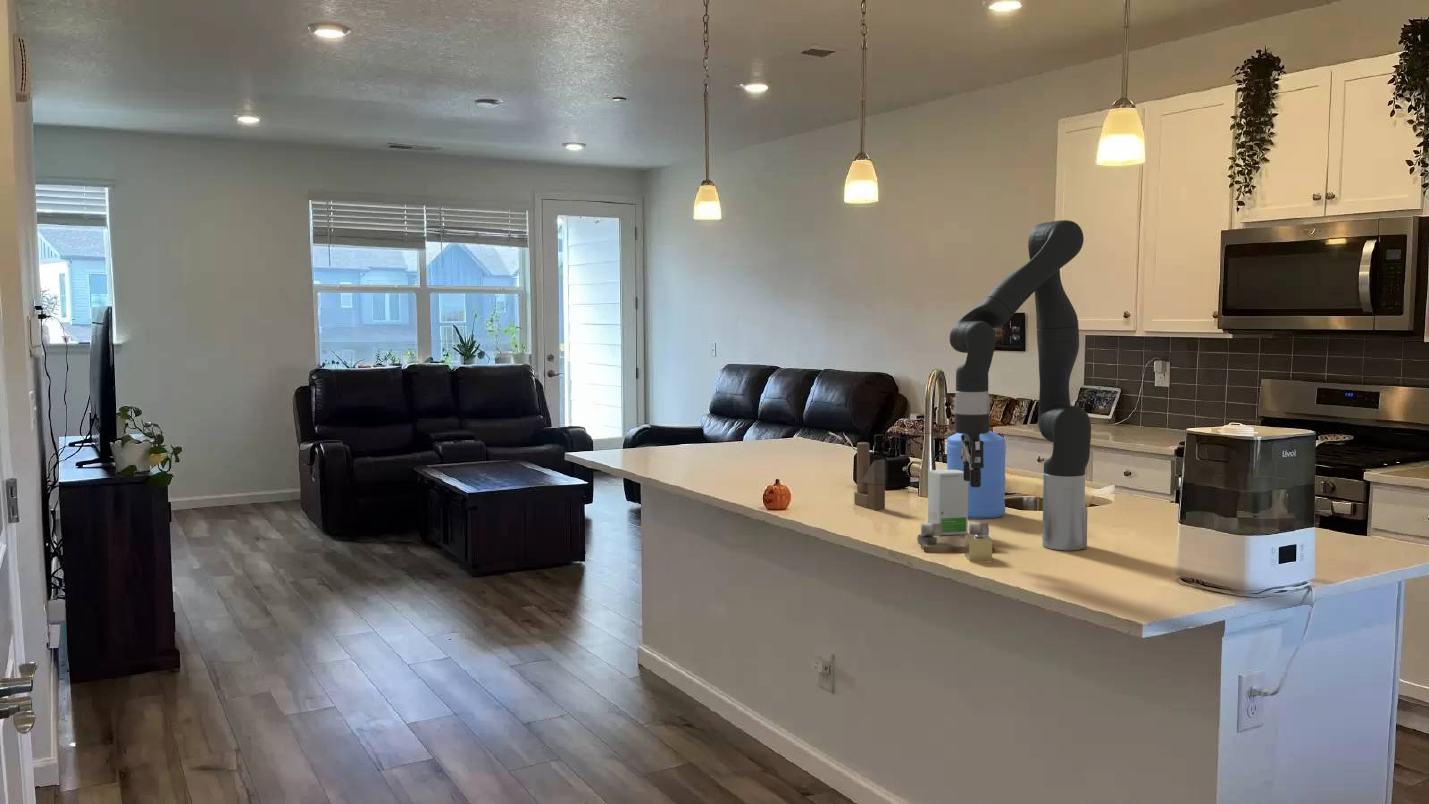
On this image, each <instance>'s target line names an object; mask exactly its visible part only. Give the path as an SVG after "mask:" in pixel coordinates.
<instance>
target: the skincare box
mask: <svg viewBox="0 0 1429 804" xmlns="http://www.w3.org/2000/svg"><path fill="white" fill-rule="evenodd" d="M927 491H928V492H927V493H928V494H927V495H928V497H927V502H928V503H927V523H941V524H942V536H949V535H951V536H952V535H954V536H955V535H957V536H958V535H968V533H969V532H968V531H969V530H968V529H969V524H968V521H969V520H968V519H969V518H968V481H965V480H964V479H963V471H959V470H947V469H931V470H928V490H927Z"/></svg>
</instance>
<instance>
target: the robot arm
mask: <svg viewBox="0 0 1429 804" xmlns="http://www.w3.org/2000/svg"><path fill="white" fill-rule="evenodd" d="M1084 242H1085V241H1084V232H1083V230H1082V227H1080V225H1079V224H1078V223H1076V222H1075V221H1073V220H1068V219H1065V220H1064V219H1063V220H1054V221H1049V222H1042V223H1038V224H1036V225H1035V226H1034V227H1033V228H1032V229H1031V231H1030V233H1029V237H1028V243H1027V248H1028V257H1029V261H1027V262H1026V263H1025V264H1023V265H1022V266H1021V267H1019V268H1018V269H1016V270H1014V272H1012V273H1010V274H1009V275H1007V276H1006V277H1004V278H1003V280H1001V281H1000V282H999V283H998V284H997V285H995V287H994V288H993V289H992V290H991V291H990V293H989V294H987V296H986V297H985V298H984V300H983V301H981V303H979V305H977V306H976V307H974V308H972V309H971V310H970V311H968V312H967V313H966V314H965V315H963V316H962V317H961V318H959V320H957V322H955V324H953V327H952V328H951V330H950V333H949V344H950V345H951V348H952V349H953V350H955V351H956V352H958V353H963V354H964V353H965V354H966V359H965V363H963V364H961V365H959V366H958V367H957V368H956V372H955V395H954V396H955V397H954V432H955V434H956V433H960V434H962V435H961V460H962V462H963V479H964V480H965V481H970V486H971V487H980V486H981V470H982V468H983V467H984V464H983V445H984V442H983V441H980V437H979V436H980V434H985V433H988V432H989V431H990V409H991V407H990V406H991V405H990V404H991V403H990V394H989V372H990V367H991V366H992V361H993V357H994V353H995V348H996V340H997V339H996V334H995V330H994V328H995V329H996V328H1000V327H1002V326H1003V325H1005V324H1006V323H1008V322H1009V320H1010V319H1011V318H1012V317H1013V316H1014V315H1015V313H1016V312H1017V311H1018V310H1019V309H1020V307H1022V305H1023V304H1024V303H1025V302H1026V301H1027V300H1028V299H1029V298H1030V297H1031V295H1033V294H1034V304H1035V315H1036V316H1035V317H1036V318H1035V319H1036V320H1035V321H1036V325H1035V326H1036V342H1037V344H1036V345H1037V352H1038V353H1037V354H1038V375H1039V376H1038V377H1039V392H1038V393H1039V395H1038V410H1037V411H1038V412H1037V413H1038V415H1037V416H1038V417H1037V423H1038V428H1039V432H1040V434H1041V436H1042V437H1043V438H1044V439H1045V440H1047V441H1048V442H1051V443H1052V446H1053V447H1052V452H1051V453H1052V454H1051V456H1050V457H1049V458H1047V459H1045V461H1044V463H1043V485H1042V486H1043V487H1042V489H1043V490H1042V491H1043V492H1042V493H1043V494H1042V497H1043V499H1042V546H1043V547H1044V548H1046V549H1047V548H1048V549H1050V550H1056V551H1077V550H1087V549H1088V512H1089V511H1088V507H1086V506H1085V505H1086V470H1087V465H1088V463H1089V460H1090V453H1091V439H1092V423H1091V419H1090V416H1089V414H1088V413H1087V411H1086V410H1085V409H1083V408H1082V407H1079V406H1076V405H1071V399H1070V398H1071V395H1070V381H1071V380H1070V379H1071V375H1072V371H1073V369H1074V366H1075V363H1076V361H1077V357H1078V354H1079V349H1080V329H1079V328H1080V327H1079V319H1078V315H1077V312H1076V310H1075V308H1074V305H1073V304H1072V302H1071V300H1070V298H1069V297H1068V295H1067V293H1066V291H1065V289H1064V286H1063V284H1062V279H1061V270H1060V269H1062V268H1063V267H1064V266H1066V265H1067V264H1068V263H1070V262H1071V261H1072V260H1073V259H1074V258H1075V257H1076V256H1077V255H1078V254H1079V253H1080V252H1081V250H1082V248H1083V245H1084ZM974 461H977V462H978V463H974Z"/></svg>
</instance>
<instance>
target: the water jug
mask: <svg viewBox="0 0 1429 804" xmlns="http://www.w3.org/2000/svg"><path fill="white" fill-rule="evenodd" d="M961 435H962V434H960V433H956V432H955V433H954V434H952V435H950V436H948V437H947V440H946V470H959V471H963V462H962V460H961ZM979 437H980V441H983V442H984V445H983V464H984V467H983V468H982V470H981V486H980V487H971V486H970V481H968V519H973V520H974V519H975V520H976V519H977V520H987V519H995V518H1001V517H1003V516H1004V515H1005V513H1006V505H1005V501H1006V500H1005V497H1006V496H1005V495H1006V494H1005V493H1006V492H1005V490H1006V487H1005V486H1006V453H1007V446H1006V439H1005V438H1004V436H1001V435H999V434H997V433H995V432H993V431H991V430H989V432H988V433H985V434H980V436H979ZM974 463H978V462H977V461H974Z"/></svg>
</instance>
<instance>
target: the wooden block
mask: <svg viewBox="0 0 1429 804" xmlns="http://www.w3.org/2000/svg"><path fill="white" fill-rule="evenodd" d="M870 453H871V452H870V443H869V442H864V441H863V442H861V441H860V442H857V444H856V491H854V493H853V495H854V499H853V500H854V503H853V504H855V505H856V504H857V505H856V506H859V507H864V508H866V507H867V509H869V510H872V509H873V511H881V509H882V510H885V509H886V486H885V485H886V459H876V460H873V462H872V463H871V464H870V461H871V460H870V456H871V455H870Z"/></svg>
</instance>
